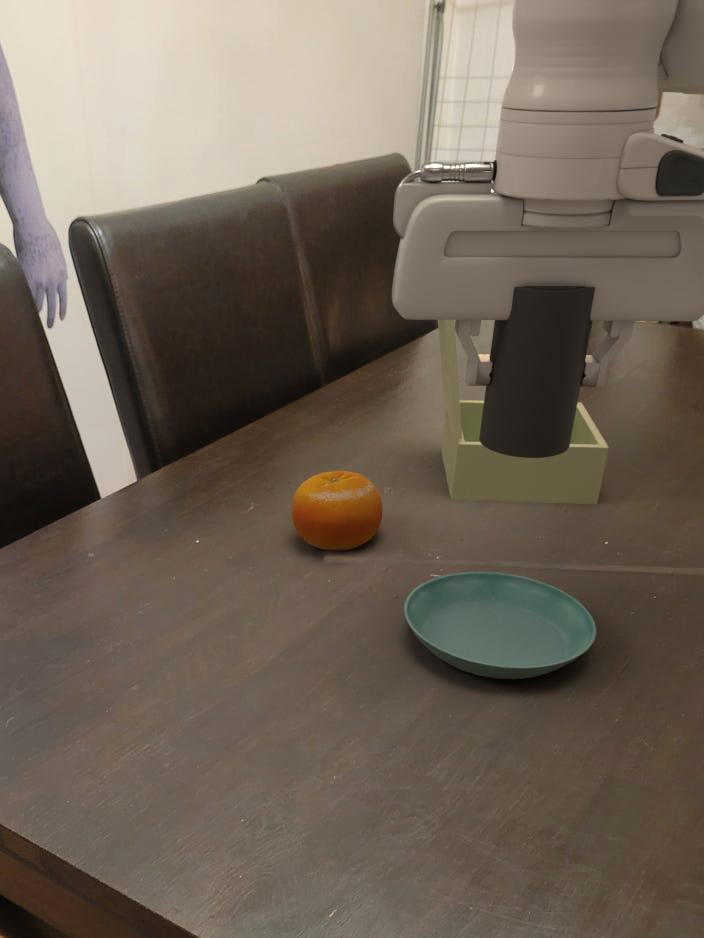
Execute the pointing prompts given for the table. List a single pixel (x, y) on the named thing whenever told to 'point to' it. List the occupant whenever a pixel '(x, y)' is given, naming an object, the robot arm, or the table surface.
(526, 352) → the black cup
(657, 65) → the robot arm
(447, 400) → the chest lid
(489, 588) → the saucer
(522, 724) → the table surface
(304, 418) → the table surface
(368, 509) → the fruit
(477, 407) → the chest
